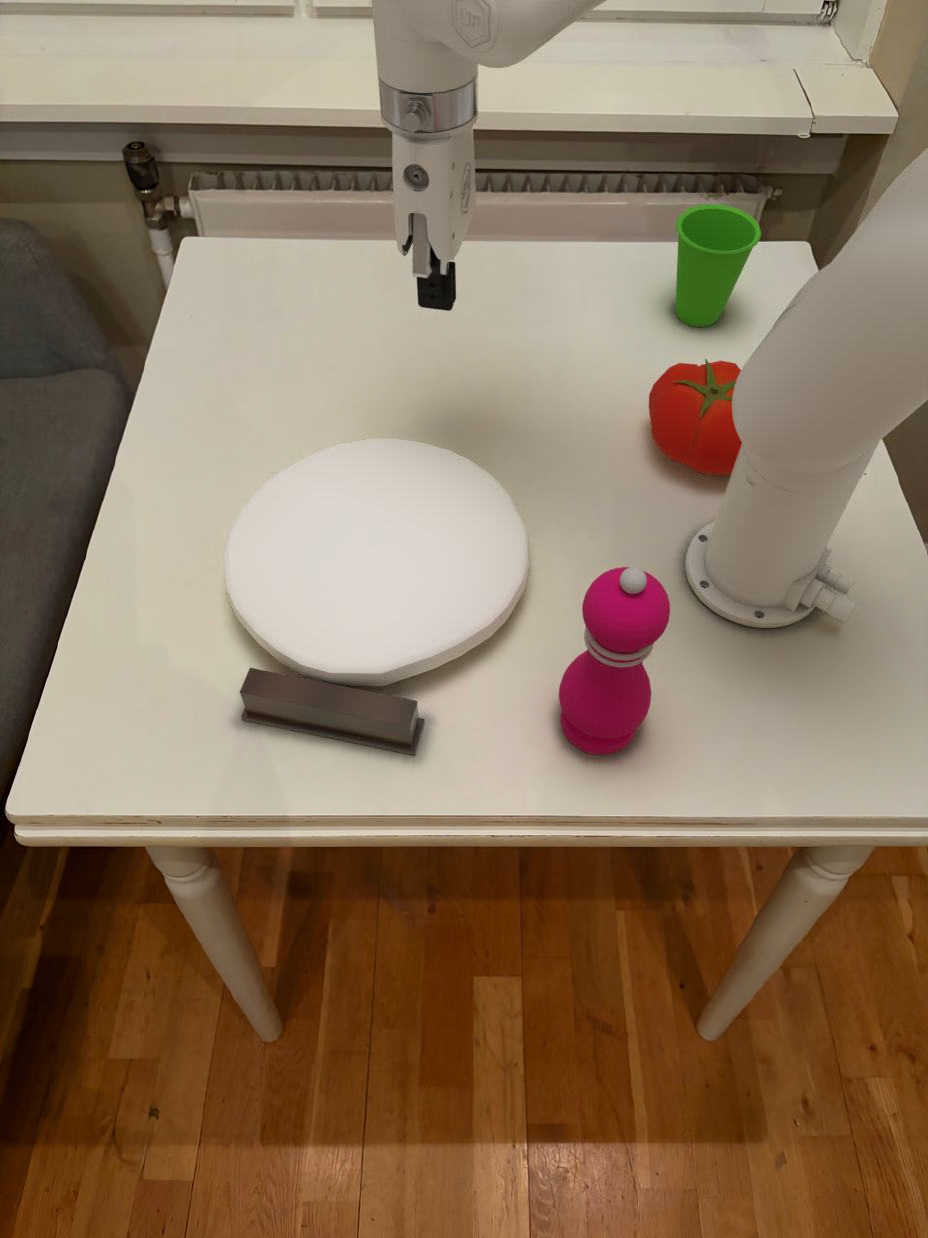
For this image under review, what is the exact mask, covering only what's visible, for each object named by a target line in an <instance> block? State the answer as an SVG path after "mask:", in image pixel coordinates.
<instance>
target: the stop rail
mask: <svg viewBox="0 0 928 1238" xmlns="http://www.w3.org/2000/svg"><path fill="white" fill-rule="evenodd" d="M239 694H240V697H241V700H242V703H243V705H244V708H243V711H242V713H241V715H240V717H241V720H242V721H246V722H249V723H250V722H251V723H254V724H255V723H256V724H259V725H264V726H270V727H275V728H279V729H285V730H290V731H293V732H299V733H303V734H307V735H313V736H318V737H323V738H329V739H333V740H338V741H343V742H347V743H352V744H357V745H362V746H367V747H371V748H377V749H382V750H387V751H392V752H396V753H399V754H400V753H401V754H404V755H405V754H406V755H410V756H416V754H417V751H418V748H419V744H420V741H421V737H422V735H423V730H424V727H425V721H426V720H425V718H424V717H419V707H418V705H419V704H418V700H415V699H410V698H405V697H399V696H396V695H390V694H385V693H380V692H375V691H369V690H366V689H360V688H356V687H355V688H354V687H351V686H346V685H335V684H330V683H325V682H321V681H317V680H314V679H310V678H306V677H299V676H294V675H289V674H285V673H279V672H274V671H270V670H264V669H260V668H259V669H258V668H254V667H249V669H248V671H247V673H246V675H245V678H244V681H243V683H242V686H241V688H240V690H239Z"/></svg>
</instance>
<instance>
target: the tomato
mask: <svg viewBox="0 0 928 1238" xmlns="http://www.w3.org/2000/svg"><path fill="white" fill-rule="evenodd" d="M704 361H705V363H703V364H700V365H698V364H697V363H684V362H679V363H676V364H673V365H671V366H669V367H668V369H666V370H665V371H664V373H663V374H662V375H660V377H658V378H657V380H656V381H655V382H654V383H653V384H652V387H651V390H650V392H649V394H648V413H649V421H650V434H651V437H652V440H653V441H654V443H655V444H656V445H657V447H658V449H659V450H660V451H661V452H662V453H663V454H664V455H666V456H667V457H668V458H669V459H670V460H672V461H673V462H675V463H679V464H681V465H684V466H687V467H688V468H690V469H692V470H693V471H696V472H698V473H701V474H705V475H710V476H711V475H712V476H719V475H731V474H732V471H733V468H734V465H735V462H736V459H737V456H738V453H739V450H740V447H741V444H742V442H741V440H740V438H739V436H738V434H737V431H736V428H735V425H734V421H733V415H732V396H733V391H734V386H735V383H736V380H737V378H738V376H739V373H740V372H741V370H742V368H740V367H739V366H738V364H737V363H735V362H730V361H724V360H718V361H712V362H709V361H708V360H707V358H705V359H704Z"/></svg>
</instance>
